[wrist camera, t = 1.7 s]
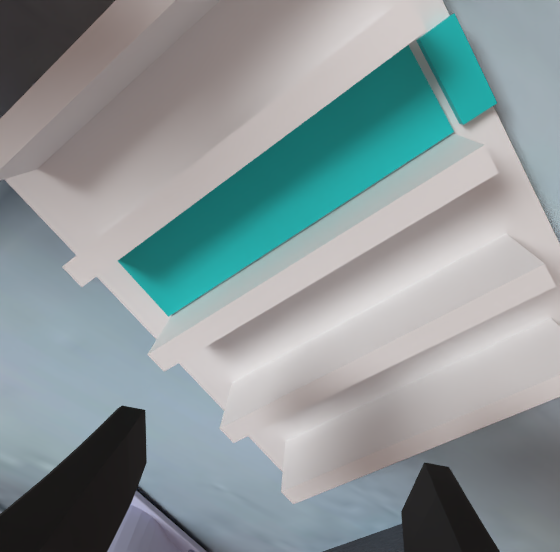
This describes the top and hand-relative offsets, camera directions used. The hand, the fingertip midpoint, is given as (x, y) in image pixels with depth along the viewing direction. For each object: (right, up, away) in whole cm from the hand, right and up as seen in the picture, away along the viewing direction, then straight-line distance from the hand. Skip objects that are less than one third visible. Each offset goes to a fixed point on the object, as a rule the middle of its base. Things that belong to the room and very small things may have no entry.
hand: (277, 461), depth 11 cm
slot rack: (+1, +6, +7) cm, 10 cm away
